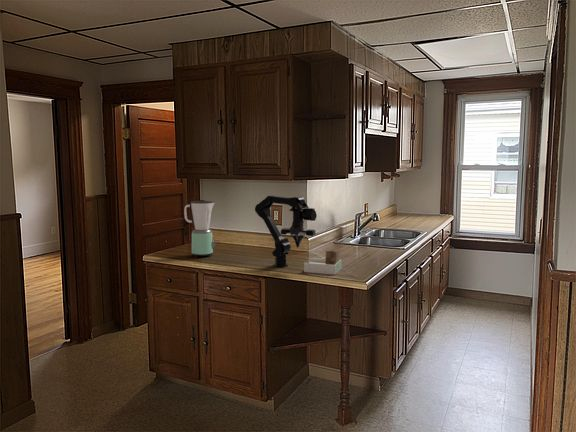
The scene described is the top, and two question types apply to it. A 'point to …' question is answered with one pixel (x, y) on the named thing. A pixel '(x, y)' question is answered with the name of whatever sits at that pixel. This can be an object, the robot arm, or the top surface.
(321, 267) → the box
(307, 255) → the top surface
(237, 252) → the top surface
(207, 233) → the mint green blender
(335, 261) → the walnut block
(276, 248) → the robot arm
